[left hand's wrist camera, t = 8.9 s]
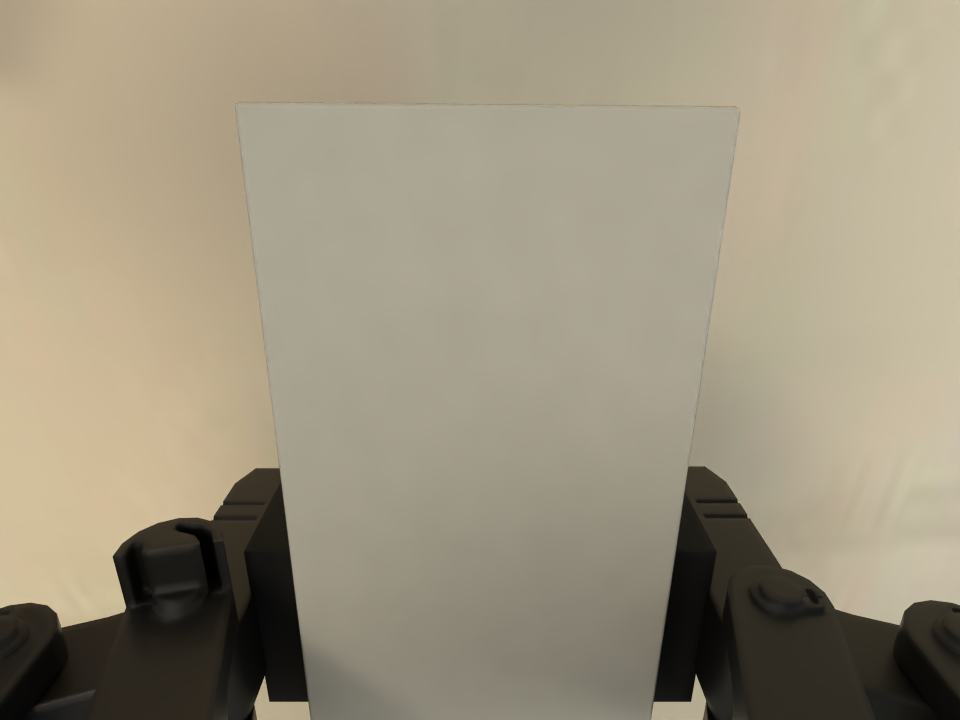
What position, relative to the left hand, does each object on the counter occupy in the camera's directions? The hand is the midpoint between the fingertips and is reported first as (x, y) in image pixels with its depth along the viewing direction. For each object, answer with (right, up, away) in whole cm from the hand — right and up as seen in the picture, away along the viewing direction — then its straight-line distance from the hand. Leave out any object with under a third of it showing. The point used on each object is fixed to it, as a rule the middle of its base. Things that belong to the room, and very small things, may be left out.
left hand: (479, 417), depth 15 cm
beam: (0, -23, +10) cm, 25 cm away
